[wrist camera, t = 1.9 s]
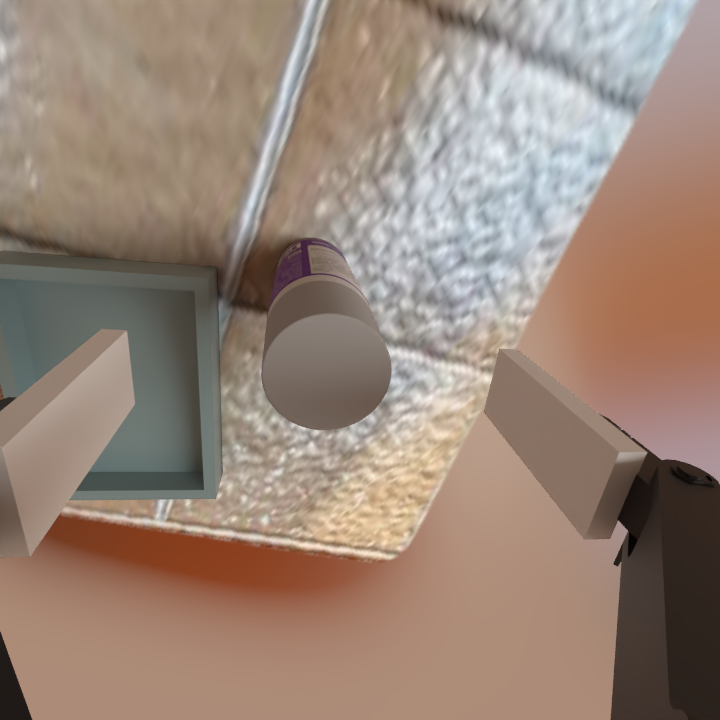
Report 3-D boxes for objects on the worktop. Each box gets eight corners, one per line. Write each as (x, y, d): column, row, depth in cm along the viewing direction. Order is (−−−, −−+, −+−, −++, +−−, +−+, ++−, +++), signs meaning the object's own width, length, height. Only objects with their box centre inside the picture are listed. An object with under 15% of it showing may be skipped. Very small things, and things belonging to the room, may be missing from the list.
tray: (4, 251, 25) (-31, 261, 22) (217, 267, 27) (208, 278, 24) (52, 471, 32) (29, 500, 29) (222, 471, 34) (216, 498, 31)
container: (289, 316, 29) (283, 449, 16) (265, 249, 27) (235, 333, 14) (356, 297, 29) (407, 412, 16) (337, 228, 27) (378, 292, 14)
